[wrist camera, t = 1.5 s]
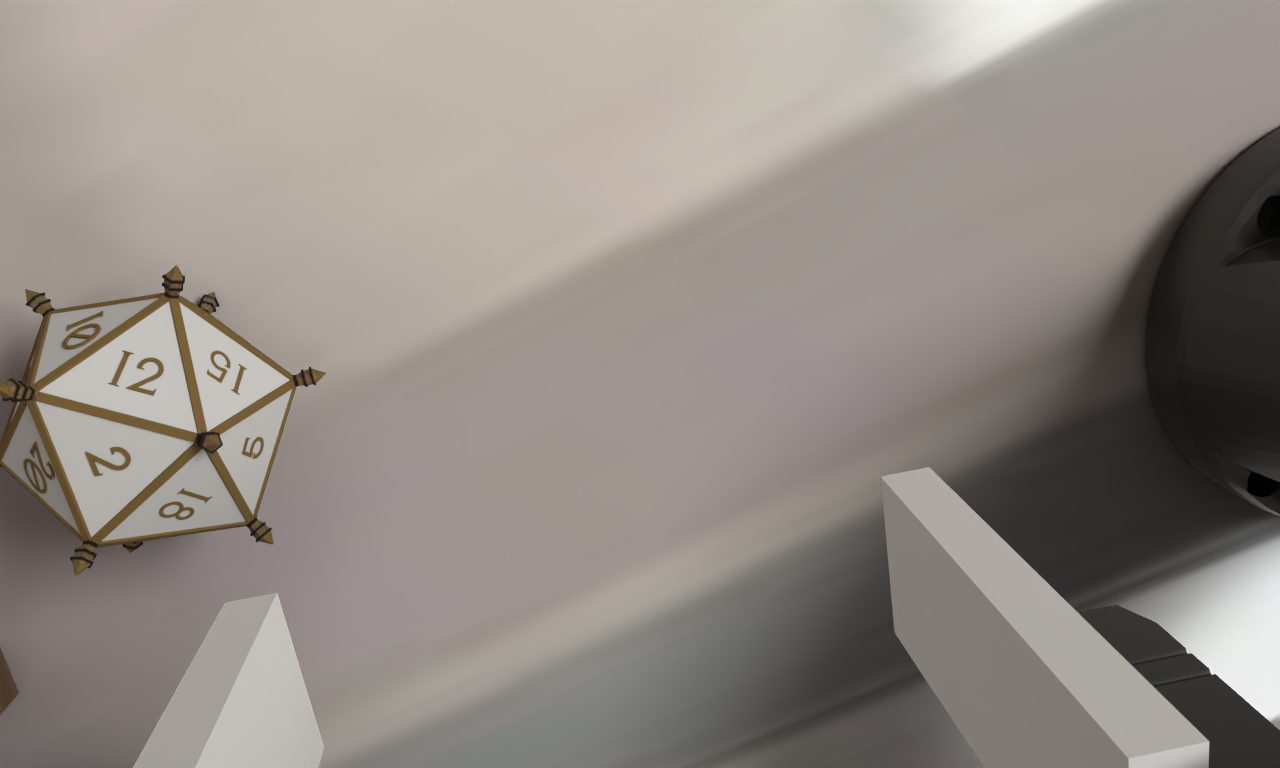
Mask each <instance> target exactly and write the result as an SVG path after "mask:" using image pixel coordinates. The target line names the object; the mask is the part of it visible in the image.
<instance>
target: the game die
mask: <svg viewBox="0 0 1280 768" xmlns="http://www.w3.org/2000/svg"><path fill="white" fill-rule="evenodd" d="M162 277H163V278H164V283H162V286H164V288H165V293H160V294H154V295H147V296H141V297H134V298H128V299H121V300H115V301H108V302H102V303H96V304H89V305H83V306H76V307H70V308H63V309H57V310H55V309H53V308H52V306H51V304H50V301H51V300H50V299H47V298H46V297H45V293H38V292H34V291H30V290H26V289H25V290H26V297H27V303H26V305H27V306H30V307H32V308H33V311H34V312H36V313H40V314H42V316H43V320H42V323H41V326H40V329H39V332H38V335H37V338H36V341H35V344H34V347H33V350H32V353H31V356H30V358H29V361H28V364H27V367H26V370H25V373H24V376H23V379H22V382H21V381H18V382H16V381H15V380H14V379H12V378H11V379H9V380H8V381H7V382H6V383H4V384H2V385H0V394H1V395H2V396H3V401H8V400H12V402H15V403H14V406H13V409H12V411H11V414H10V417H9V420H8V423H7V426H6V429H5V432H4V435H3V438H2V441H1V444H0V466H2V467H3V468H4V469H5V470H7V471H8V472H9V473H10V474H11V475H12V476H13V477H14V478H15V479H16V480H17V481H18V482H19V483H21V484H22V485H23V486H24V487H25V488H26V489H27V490H28V491H29V492H30V493H31V494H32V495H33V496H35V497H36V498H37V499H38V500H39V501H40V502H41V503H42V504H43V505H44V506H45V507H46V508H47V509H49V510H50V511H51V512H52V513H53V514H54V515H55V516H56V517H57V518H58V519H59V520H60V521H61V522H63V523H64V524H65V525H66V526H67V527H68V528H69V529H70V530H71V531H72V532H73V533H74V534H75V535H77V536H78V537H79V538H80V539H81V540H82V541H83V545H82V546H81V547H80V548H79V549H75V552H76V553H75V555H74V557H70V560H71V561H72V562H73V567H74V572H75V576H76V575H78V574H79V573H81V572H82V571H83V570H85V569H86V568H90V567H91V566H92V564H93V562H92V560H94V558H95V557H96V555H97V554H96V553H95V550H96V547H103V546H110V545H117V544H123V547H125V548H126V549H127V550H128V551H129V552H130V553H131V552H132V551H133V550H135V549H137V548H138V547H139V546H141V545H142V544H143V542H142V541H145V540H152V539H159V538H166V537H173V536H180V535H187V534H194V533H201V532H208V531H215V530H222V529H228V528H235V527H242V526H247V527H248V528H249V529H250V531H251V534H250V535H251V536H252V535H253V536H254V537H255V538H256V539H257V540H256V542H258V541H260V542H265V543H269V544H274V543H273V538H272V534H271V529H272V528H268V527H267V526H266V525H265V524H266V523H265V522H264V523H262V522H261V521H259V520H258V519H257V513H258V510H259V507H260V503H261V500H262V497H263V494H264V490H265V487H266V484H267V481H268V477H269V474H270V471H271V468H272V464H273V461H274V458H275V455H276V451H277V448H278V445H279V442H280V438H281V435H282V432H283V429H284V425H285V422H286V419H287V416H288V412H289V409H290V406H291V402H292V399H293V396H294V393H295V389H296V387H297V386H299V385H305V386H306V387H308V385H310V384H313V385H316V382H318V381H319V380H320V379H321V378H322V377H323V376H324V375H325V374H326V373H324V372H321V371H317V370H314V369H311V367H309V369H308V370H305V371H303V370H301V372H300V373H299V374H297V375H292V374H290V373H289V372H288V371H286V370H285V369H284V368H282V367H281V366H279V365H278V364H277V363H275V362H274V361H273V360H271V359H270V358H269V357H267V356H266V355H265V354H263V353H262V352H261V351H259V350H258V349H257V348H255V347H254V346H252V345H251V344H250V343H248V342H247V341H246V340H244V339H243V338H242V337H240V336H239V335H238V334H236V333H235V332H234V331H232V330H231V329H229V328H228V327H227V326H225V325H224V324H223V323H221V322H220V321H219V320H217V319H216V318H215V317H213V316H212V315H211V313H212V312H216V309H215V308H216V307H218V306H219V304H218V302H217V299H216V297H215V293H214V292H213V293H211V294H208V295H204V296H203V297H202V299H201V302H200V304H199V305H198V306H196V305H195V304H193V303H191V302H190V301H188V300H186V299H185V298H183V297H181V296H180V295H178V294H179V292H180V291H182V290H183V284H184V282H185V276H183V275H182V274H181V272H180V270H179V268H178V266H177V265H176V266H175V267H174V268H173V269H172V270H171V271H170V272H168V273H167V274H165V275H163V276H162ZM182 283H183V284H182Z"/></svg>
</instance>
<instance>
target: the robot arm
mask: <svg viewBox="0 0 1280 768" xmlns="http://www.w3.org/2000/svg"><path fill="white" fill-rule="evenodd" d="M1146 367H1147V375H1148V382H1149V387H1150V392H1151V395H1152V399H1153V402H1154V406H1155V408H1156V411H1157V414H1158V416H1159V419H1160V421H1161V423H1162V425H1163V427H1164V429H1165V431H1166V432H1167V434H1168V436H1169V437H1170V439H1171V441H1172V442H1173V444H1174V445H1175V446H1176V448H1177V449H1178V450H1179V452H1180V453H1181V454H1182V455H1183V456H1184V457H1185V458H1186V460H1187V461H1188V462H1189V463H1190V464H1191V465H1193V466H1194V467H1195V468H1196V469H1197V470H1198V471H1199V472H1201V473H1202V474H1203V475H1205V476H1206V477H1207V478H1209V479H1210V480H1212V481H1213V482H1215V483H1217V484H1218V485H1220V486H1222V487H1223V488H1225V489H1227V490H1228V491H1230V492H1232V493H1233V494H1235V495H1237V496H1238V497H1240V498H1242V499H1243V500H1245V501H1247V502H1249V503H1250V504H1252V505H1254V506H1256V507H1258V508H1260V509H1262V510H1265V511H1267V512H1270V513H1272V514H1275V515H1277V516H1280V128H1279V129H1277V130H1276V131H1274V132H1272V133H1271V134H1269V135H1268V136H1266V137H1265V138H1263V139H1262V140H1260V141H1259V142H1258V143H1256V144H1255V145H1254V146H1252V147H1251V148H1250V149H1249V150H1247V151H1246V152H1245V153H1244V154H1242V155H1241V156H1240V157H1239V158H1238V159H1237V160H1236V161H1235V162H1233V163H1232V164H1231V165H1230V166H1229V167H1228V168H1227V169H1226V170H1225V171H1224V172H1223V173H1222V174H1221V175H1220V176H1219V177H1218V178H1217V179H1216V181H1215V182H1214V183H1213V184H1212V185H1211V186H1210V187H1209V189H1208V190H1207V191H1206V192H1205V193H1204V195H1203V196H1202V197H1201V198H1200V200H1199V201H1198V203H1197V204H1196V205H1195V207H1194V208H1193V209H1192V211H1191V212H1190V214H1189V215H1188V217H1187V219H1186V220H1185V222H1184V223H1183V225H1182V226H1181V228H1180V230H1179V232H1178V234H1177V235H1176V237H1175V239H1174V241H1173V243H1172V245H1171V247H1170V249H1169V251H1168V253H1167V255H1166V258H1165V260H1164V263H1163V265H1162V268H1161V270H1160V273H1159V276H1158V279H1157V282H1156V285H1155V289H1154V292H1153V296H1152V300H1151V305H1150V310H1149V316H1148V323H1147V332H1146ZM881 486H882V497H883V508H884V520H885V531H886V542H887V553H888V565H889V576H890V587H891V599H892V610H893V621H894V632H895V634H896V636H897V637H898V639H899V640H900V642H901V643H902V645H903V646H904V648H905V649H906V651H907V652H908V654H909V655H910V657H911V658H912V660H913V661H914V663H915V664H916V666H917V667H918V669H919V670H920V672H921V673H922V675H923V677H924V678H925V680H926V681H927V683H928V684H929V686H930V687H931V689H932V690H933V692H934V693H935V695H936V696H937V698H938V699H939V701H940V702H941V704H942V705H943V707H944V708H945V710H946V711H947V713H948V714H949V716H950V717H951V719H952V720H953V722H954V723H955V725H956V727H957V728H958V730H959V731H960V733H961V734H962V736H963V737H964V739H965V740H966V742H967V743H968V745H969V746H970V748H971V749H972V751H973V752H974V754H975V755H976V757H977V758H978V760H979V761H980V763H981V764H982V766H983V767H984V768H1280V730H1278V729H1277V728H1276V727H1275V726H1274V725H1273V724H1272V723H1270V722H1269V721H1268V720H1267V719H1266V718H1265V717H1264V716H1262V715H1261V714H1260V713H1259V712H1258V711H1257V710H1256V709H1254V708H1253V707H1252V706H1251V705H1250V704H1249V703H1248V702H1246V701H1245V700H1244V699H1243V698H1242V697H1241V696H1240V695H1238V694H1237V693H1236V692H1235V691H1234V690H1233V689H1232V688H1230V687H1229V686H1228V685H1227V684H1226V683H1225V682H1224V681H1222V680H1221V679H1220V678H1219V677H1218V676H1217V675H1216V674H1214V675H1211V673H1210V671H1209V668H1208V667H1206V666H1205V665H1204V664H1203V663H1202V662H1201V661H1200V660H1198V659H1197V658H1196V657H1195V656H1194V655H1193V654H1192V653H1190V654H1187V652H1186V648H1185V647H1184V646H1182V645H1181V644H1180V643H1179V642H1178V641H1177V640H1176V639H1174V638H1173V637H1172V636H1171V635H1170V634H1169V633H1168V632H1166V631H1165V630H1164V629H1163V628H1162V627H1161V626H1160V625H1158V624H1157V623H1155V622H1153V621H1151V620H1149V619H1146V618H1144V617H1142V616H1140V615H1138V614H1135V613H1133V612H1131V611H1129V610H1127V609H1124V608H1122V607H1120V606H1118V605H1114V606H1109V607H1104V608H1099V609H1094V610H1089V611H1084V612H1079V613H1078V612H1077V611H1076V610H1075V609H1074V608H1073V607H1072V606H1071V605H1070V604H1068V603H1067V602H1066V601H1065V600H1064V599H1063V598H1062V597H1061V596H1060V595H1059V594H1058V593H1057V592H1056V591H1055V590H1054V589H1053V588H1052V587H1051V586H1050V585H1049V584H1048V583H1047V582H1046V581H1045V580H1044V579H1043V578H1042V577H1041V576H1040V575H1039V574H1038V573H1037V572H1036V571H1035V570H1034V569H1033V568H1032V567H1031V566H1030V565H1029V564H1028V563H1027V562H1026V561H1025V560H1024V559H1023V558H1022V557H1021V556H1019V555H1018V554H1017V553H1016V552H1015V551H1014V550H1013V549H1012V548H1011V547H1010V546H1009V545H1008V544H1007V543H1006V542H1005V541H1004V540H1003V539H1002V538H1001V537H1000V536H999V535H998V534H997V533H996V532H995V531H994V530H993V529H992V528H991V527H990V526H989V525H988V524H987V523H986V522H985V521H984V520H983V519H982V518H981V517H980V516H979V515H978V514H977V513H976V512H975V511H974V510H973V509H971V508H970V507H969V506H968V505H967V504H966V503H965V502H964V501H963V500H962V499H961V498H960V497H959V496H958V495H957V494H956V493H955V492H954V491H953V490H952V489H951V488H950V487H949V486H948V485H947V484H946V483H945V482H944V481H943V480H942V479H941V478H940V477H939V476H938V475H937V474H936V473H935V472H934V471H933V470H932V469H931V468H930V467H927V468H922V469H917V470H912V471H906V472H901V473H896V474H891V475H886V476H881ZM323 750H324V745H323V742H322V739H321V735H320V732H319V729H318V726H317V722H316V719H315V716H314V712H313V709H312V706H311V702H310V699H309V696H308V693H307V689H306V686H305V683H304V679H303V676H302V673H301V670H300V666H299V663H298V660H297V656H296V653H295V650H294V647H293V643H292V640H291V637H290V633H289V630H288V627H287V624H286V620H285V617H284V614H283V610H282V607H281V604H280V600H279V597H278V594H277V593H272V594H267V595H261V596H256V597H251V598H246V599H241V600H235V601H230V602H225V603H224V605H223V606H222V608H221V610H220V612H219V614H218V615H217V617H216V619H215V621H214V623H213V624H212V626H211V628H210V630H209V632H208V633H207V635H206V637H205V639H204V641H203V642H202V644H201V646H200V648H199V650H198V651H197V653H196V655H195V657H194V659H193V660H192V662H191V664H190V666H189V668H188V669H187V671H186V673H185V675H184V676H183V678H182V680H181V682H180V684H179V685H178V687H177V689H176V691H175V693H174V694H173V696H172V698H171V700H170V702H169V703H168V705H167V707H166V709H165V711H164V712H163V714H162V716H161V718H160V720H159V721H158V723H157V725H156V727H155V729H154V730H153V732H152V734H151V736H150V738H149V739H148V741H147V743H146V745H145V747H144V748H143V750H142V752H141V754H140V756H139V757H138V759H137V761H136V763H135V764H134V766H133V768H318V767H319V764H320V760H321V757H322V753H323Z"/></svg>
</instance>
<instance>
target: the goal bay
mask: <svg viewBox="0 0 1280 768" xmlns="http://www.w3.org/2000/svg"><path fill="white" fill-rule="evenodd" d="M17 694H18V691H17V688H16V686H15V683H14V681H13V678H12V676H11V673H10V671H9V669H8V666H7V664H6V661H5V659H4V656H3V654H2V651H1V649H0V714H2V713H3V712H4V710H5V709H6V708H7V707H8V705H9V704H10V703H11V702H12V700H13V699H14V698H15V697H16V695H17Z"/></svg>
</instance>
